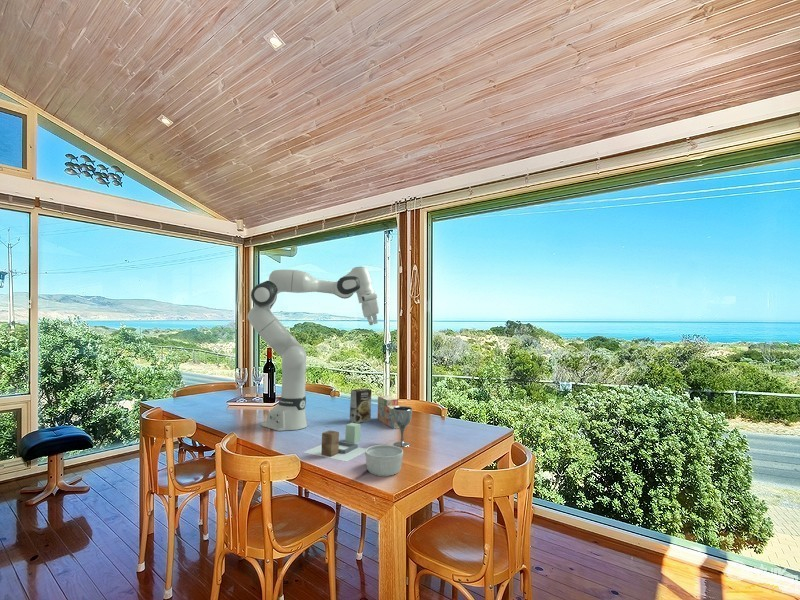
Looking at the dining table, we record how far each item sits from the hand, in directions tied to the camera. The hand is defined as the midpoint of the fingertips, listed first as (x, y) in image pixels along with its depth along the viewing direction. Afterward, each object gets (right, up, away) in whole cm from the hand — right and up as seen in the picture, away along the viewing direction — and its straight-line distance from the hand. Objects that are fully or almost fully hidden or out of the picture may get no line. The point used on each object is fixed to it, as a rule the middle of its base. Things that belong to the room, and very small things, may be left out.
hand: (373, 324), depth 204 cm
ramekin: (+8, -47, -64) cm, 80 cm away
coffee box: (-7, -50, +4) cm, 51 cm away
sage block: (-6, -48, -35) cm, 59 cm away
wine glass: (+14, -49, -34) cm, 61 cm away
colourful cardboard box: (+9, -50, +1) cm, 51 cm away
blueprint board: (-11, -47, -48) cm, 68 cm away
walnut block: (-13, -46, -52) cm, 70 cm away
